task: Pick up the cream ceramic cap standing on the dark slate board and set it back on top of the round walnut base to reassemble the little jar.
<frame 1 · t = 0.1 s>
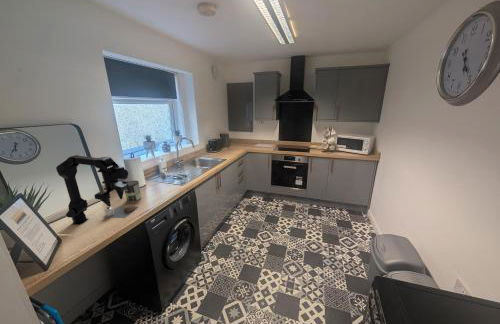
hand: (115, 202, 114), 15 cm above the worktop, fingers open, 9 cm apart
base: (129, 209, 133), resting on board
cap: (110, 214, 127), point 1 cm above the worktop, touching board
coffee can: (134, 199, 149), on the worktop
board: (121, 212, 131), on the worktop
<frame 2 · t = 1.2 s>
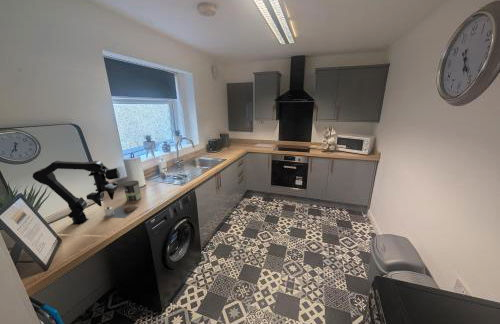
hand: (106, 202, 124), 10 cm above the worktop, fingers open, 9 cm apart
nothing on the worktop moved.
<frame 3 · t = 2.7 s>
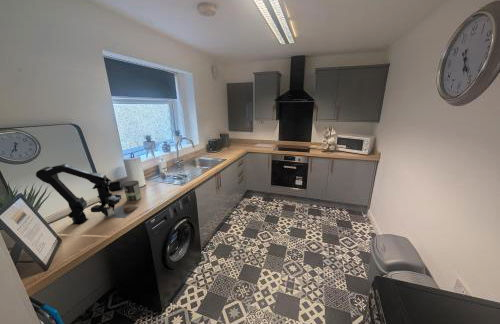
hand: (110, 214, 127), 1 cm above the worktop, fingers closed on cap, 4 cm apart
cap: (110, 214, 127), point 1 cm above the worktop, touching board, gripper
everything else where it was.
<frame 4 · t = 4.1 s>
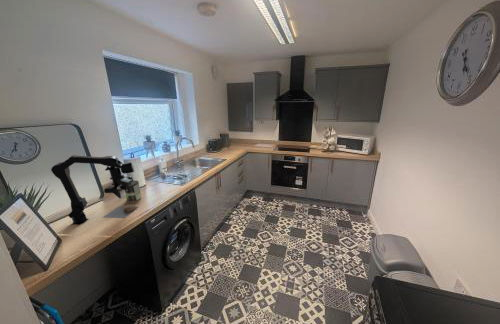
hand: (122, 196, 128), 12 cm above the worktop, fingers closed on cap, 4 cm apart
cap: (122, 197, 129), point 11 cm above the worktop, touching gripper
everything else where it was.
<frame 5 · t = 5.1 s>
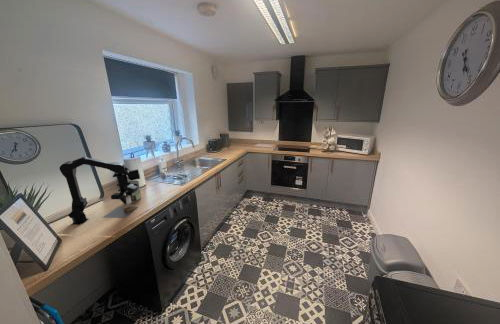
hand: (127, 202, 131), 6 cm above the worktop, fingers closed on cap, 4 cm apart
cap: (128, 203, 131), point 6 cm above the worktop, touching gripper
everything else where it was.
when the fingers open (5 cm above the worktop, at t = 5.7 s): cap drops 1 cm, resting on base.
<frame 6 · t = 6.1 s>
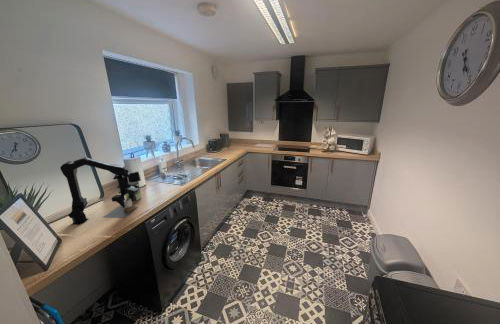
hand: (128, 204, 132), 5 cm above the worktop, fingers open, 8 cm apart
cap: (129, 206, 132), point 3 cm above the worktop, touching base
everything else where it was.
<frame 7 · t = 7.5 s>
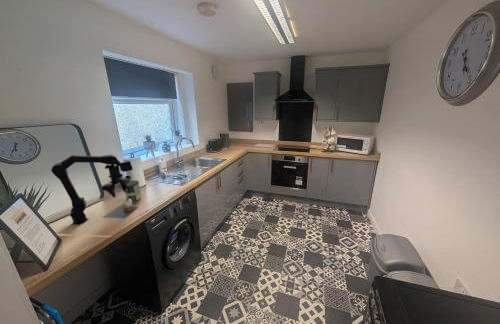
hand: (119, 194, 132), 12 cm above the worktop, fingers open, 9 cm apart
nothing on the worktop moved.
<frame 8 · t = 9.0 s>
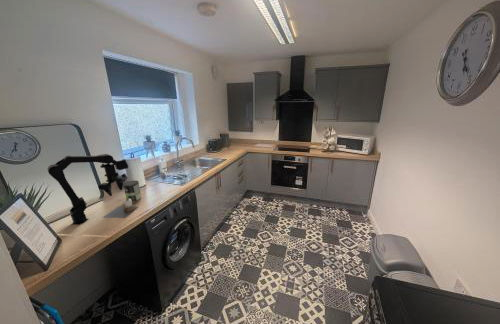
hand: (116, 192, 133), 12 cm above the worktop, fingers open, 9 cm apart
nothing on the worktop moved.
at the end: cap 0.0 cm from the base (horizontally); cap point 3.1 cm above the worktop; cap tilted 0° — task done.
